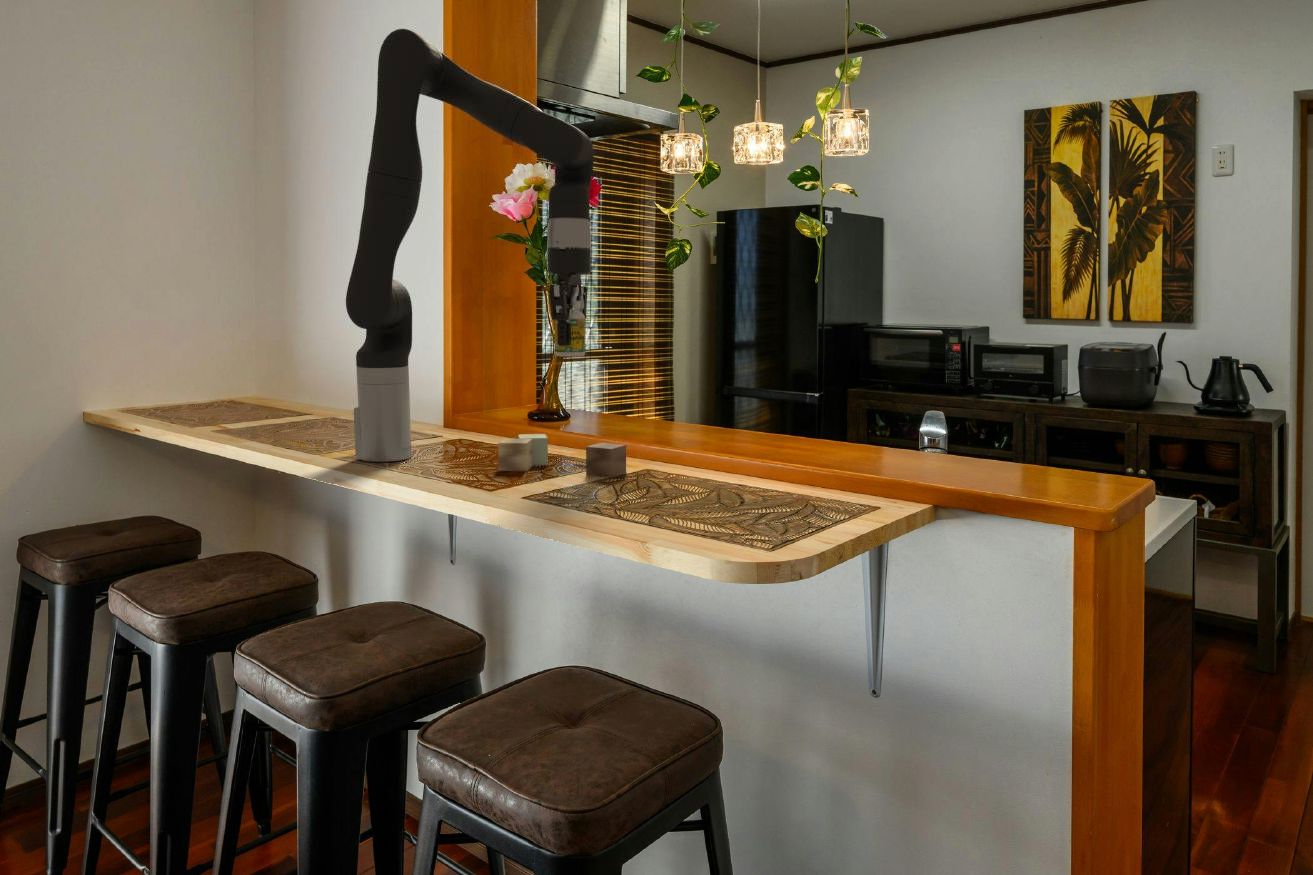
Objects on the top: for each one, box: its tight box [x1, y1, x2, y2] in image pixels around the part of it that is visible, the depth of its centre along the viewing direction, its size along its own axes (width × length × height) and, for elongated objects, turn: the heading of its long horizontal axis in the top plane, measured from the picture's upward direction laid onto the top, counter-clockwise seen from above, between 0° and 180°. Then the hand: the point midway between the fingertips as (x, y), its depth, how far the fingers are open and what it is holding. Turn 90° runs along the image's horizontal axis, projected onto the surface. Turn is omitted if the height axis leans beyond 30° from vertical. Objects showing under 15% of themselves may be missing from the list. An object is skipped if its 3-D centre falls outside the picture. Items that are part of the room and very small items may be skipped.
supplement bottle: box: [553, 301, 586, 357], centre depth 158 cm, size 5×5×10 cm
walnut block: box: [585, 442, 627, 479], centre depth 155 cm, size 5×5×5 cm
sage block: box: [517, 433, 549, 466], centre depth 165 cm, size 5×5×5 cm
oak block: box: [497, 438, 533, 472], centre depth 160 cm, size 5×5×5 cm
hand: (569, 344), depth 159 cm, fingers closed on supplement bottle, 5 cm apart
